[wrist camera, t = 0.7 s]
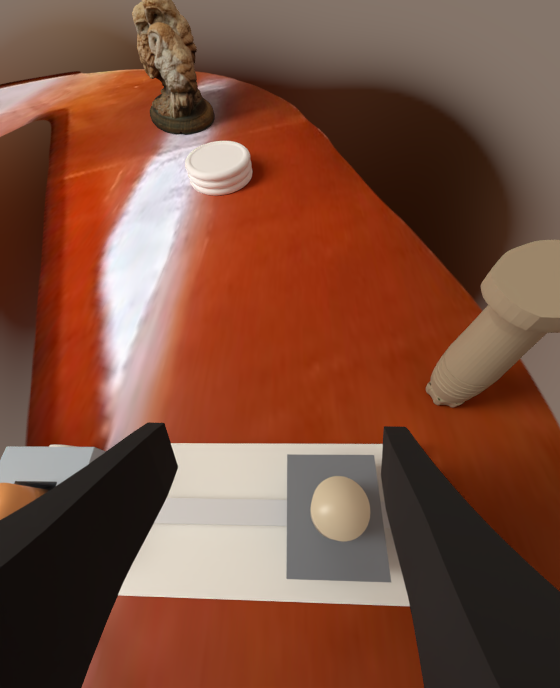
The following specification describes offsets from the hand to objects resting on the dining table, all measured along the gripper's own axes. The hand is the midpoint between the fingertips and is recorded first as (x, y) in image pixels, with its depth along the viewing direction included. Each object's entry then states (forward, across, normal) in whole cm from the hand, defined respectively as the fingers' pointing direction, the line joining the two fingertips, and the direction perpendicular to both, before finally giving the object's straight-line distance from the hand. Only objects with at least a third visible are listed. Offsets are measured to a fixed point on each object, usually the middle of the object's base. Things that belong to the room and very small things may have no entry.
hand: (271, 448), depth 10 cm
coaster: (+47, +14, -11) cm, 50 cm away
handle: (+18, -12, +10) cm, 24 cm away
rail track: (+8, +3, +15) cm, 17 cm away
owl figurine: (+65, +26, -24) cm, 74 cm away
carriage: (+7, -2, +13) cm, 15 cm away
